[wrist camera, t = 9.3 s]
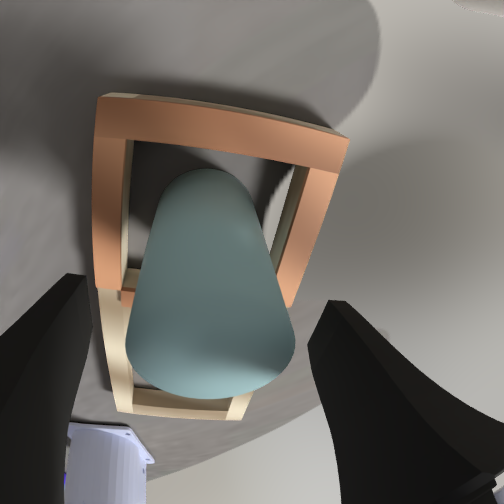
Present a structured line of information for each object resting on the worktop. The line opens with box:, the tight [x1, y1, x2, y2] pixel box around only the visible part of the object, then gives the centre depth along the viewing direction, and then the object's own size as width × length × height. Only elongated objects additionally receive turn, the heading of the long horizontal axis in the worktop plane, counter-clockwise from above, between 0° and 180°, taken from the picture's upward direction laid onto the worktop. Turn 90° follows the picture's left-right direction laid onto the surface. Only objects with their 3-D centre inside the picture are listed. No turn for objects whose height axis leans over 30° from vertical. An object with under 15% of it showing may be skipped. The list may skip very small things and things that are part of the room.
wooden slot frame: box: [92, 92, 350, 420], centre depth 17 cm, size 21×10×2 cm, turn 167°
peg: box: [125, 169, 295, 399], centre depth 11 cm, size 4×4×8 cm
